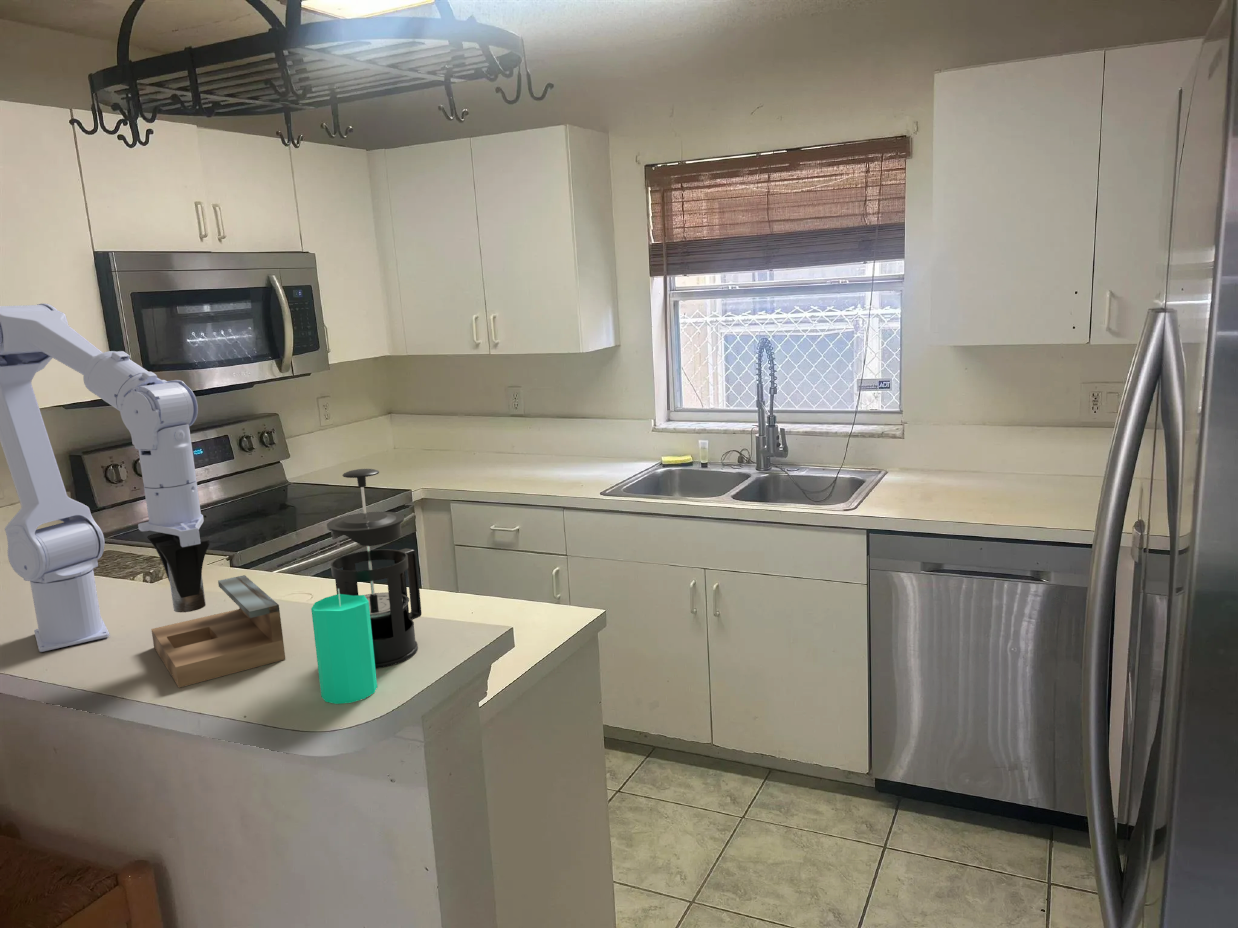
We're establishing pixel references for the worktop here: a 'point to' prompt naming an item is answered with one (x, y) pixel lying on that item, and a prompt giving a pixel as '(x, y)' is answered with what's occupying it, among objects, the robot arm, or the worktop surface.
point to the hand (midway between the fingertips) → (185, 591)
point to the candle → (344, 648)
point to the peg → (186, 598)
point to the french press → (380, 577)
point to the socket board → (223, 637)
